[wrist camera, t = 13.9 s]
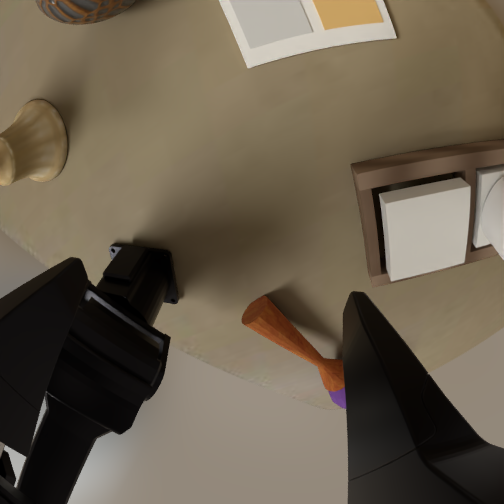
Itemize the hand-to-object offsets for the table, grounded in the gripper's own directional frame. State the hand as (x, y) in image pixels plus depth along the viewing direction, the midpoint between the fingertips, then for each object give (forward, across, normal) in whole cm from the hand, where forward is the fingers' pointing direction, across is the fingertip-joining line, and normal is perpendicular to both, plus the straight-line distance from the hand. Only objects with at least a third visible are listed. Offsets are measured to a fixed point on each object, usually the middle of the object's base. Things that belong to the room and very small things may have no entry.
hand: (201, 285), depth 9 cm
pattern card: (+13, -3, -11) cm, 17 cm away
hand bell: (+13, +20, -2) cm, 24 cm away
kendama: (+14, -8, +20) cm, 26 cm away
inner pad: (+11, -13, +3) cm, 17 cm away
